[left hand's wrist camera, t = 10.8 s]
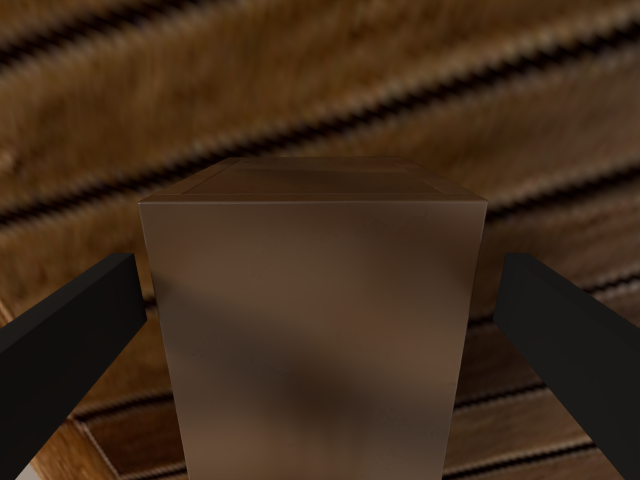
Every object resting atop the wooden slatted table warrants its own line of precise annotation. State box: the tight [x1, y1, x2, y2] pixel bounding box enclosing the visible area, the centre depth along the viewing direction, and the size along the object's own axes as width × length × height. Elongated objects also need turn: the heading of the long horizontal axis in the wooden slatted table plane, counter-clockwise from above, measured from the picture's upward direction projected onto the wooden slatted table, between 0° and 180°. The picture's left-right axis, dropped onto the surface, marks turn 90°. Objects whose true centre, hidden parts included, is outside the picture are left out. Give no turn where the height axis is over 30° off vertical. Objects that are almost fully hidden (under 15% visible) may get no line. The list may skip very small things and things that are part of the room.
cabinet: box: [138, 157, 488, 480], centre depth 19 cm, size 17×11×12 cm, turn 0°
